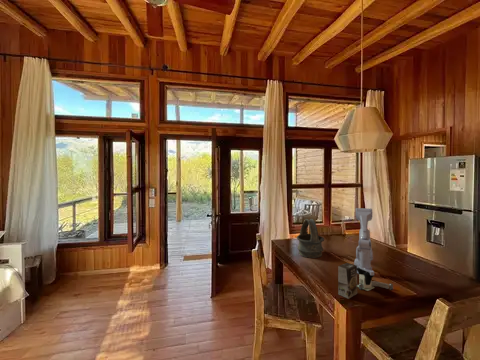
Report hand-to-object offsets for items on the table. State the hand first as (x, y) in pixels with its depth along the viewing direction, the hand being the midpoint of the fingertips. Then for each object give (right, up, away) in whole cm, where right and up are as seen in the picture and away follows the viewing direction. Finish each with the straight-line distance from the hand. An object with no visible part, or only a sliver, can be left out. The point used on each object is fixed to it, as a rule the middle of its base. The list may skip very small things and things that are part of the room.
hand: (365, 282), depth 142 cm
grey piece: (+5, -3, -3) cm, 6 cm away
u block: (0, -2, 0) cm, 2 cm away
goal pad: (0, -3, 0) cm, 3 cm away
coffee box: (-14, -3, -8) cm, 16 cm away
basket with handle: (-15, -2, +59) cm, 61 cm away
